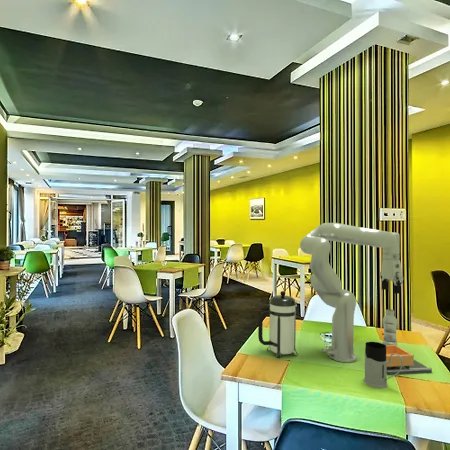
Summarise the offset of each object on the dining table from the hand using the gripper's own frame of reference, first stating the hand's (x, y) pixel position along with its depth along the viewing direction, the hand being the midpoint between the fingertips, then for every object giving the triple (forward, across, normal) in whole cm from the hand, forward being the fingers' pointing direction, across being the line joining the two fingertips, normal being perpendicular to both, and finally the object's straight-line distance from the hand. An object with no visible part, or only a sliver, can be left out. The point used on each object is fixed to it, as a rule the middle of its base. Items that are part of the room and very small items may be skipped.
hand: (390, 291), depth 166 cm
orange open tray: (+28, -19, +12) cm, 36 cm away
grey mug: (+29, -34, +26) cm, 52 cm away
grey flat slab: (+29, -19, +8) cm, 36 cm away
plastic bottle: (+30, 0, 0) cm, 30 cm away
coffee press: (+29, +1, +56) cm, 63 cm away
